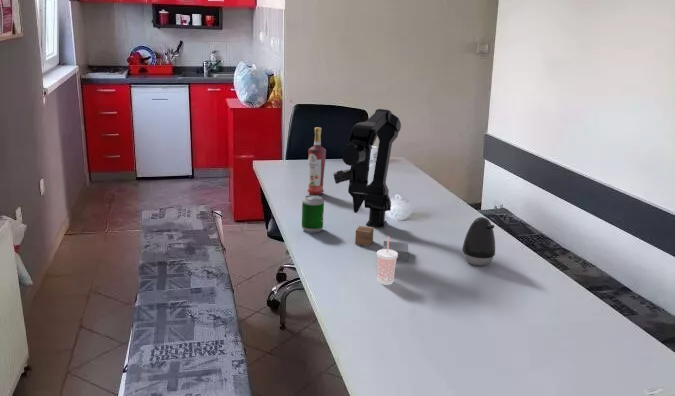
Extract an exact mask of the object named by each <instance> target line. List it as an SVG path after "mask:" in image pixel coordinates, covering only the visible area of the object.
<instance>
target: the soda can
mask: <svg viewBox="0 0 675 396" xmlns="http://www.w3.org/2000/svg"><path fill="white" fill-rule="evenodd" d="M301 204H302V205H301V229H303V231H304V232H306V233H310V234H315V233H320V232H321V230H323V228H324V211H325V210H324V209H325V207H324V206H325V200H324V199H323V198H322V196H320V195H311V194H309V195H306V196H304V197H303V198H302V203H301Z"/></svg>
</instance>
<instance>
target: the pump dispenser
mask: <svg viewBox="0 0 675 396" xmlns="http://www.w3.org/2000/svg"><path fill="white" fill-rule="evenodd" d="M494 229H495V225H494V224H492V222H490V220H489V219H488V218H486V217H483V216H479V217H477V218H475V220H473V222H472V223H471V225H470V226H469V228H468V230H467V232H466V235H465V237H464V240H463V244H462V249H461V250H462V253H463V257H464V259H465V260H466V262H468V264H471V265H474V266H480V267H481V266H485V265H488V264H489V263H491V262H492V260H493V259H494V257H495V256H496V237H495V233H494Z"/></svg>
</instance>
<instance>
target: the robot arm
mask: <svg viewBox="0 0 675 396" xmlns="http://www.w3.org/2000/svg"><path fill="white" fill-rule="evenodd" d="M401 128H402V123H401V121H400V119H399V117H398V116H396V115H395V114H394V113H392V111H391V110H390V109H385V108H384V109H383V108H377V109H376V110H375V112H374V113H373V114H372V115H371V116H370V117H369V118H368V119H366V121H361V122H360V121H359V122H358V123H355V125H353V127H351V130H350V133H349V136H348V140H347V142H346V146H347V145H348V147H347V148H345V149H344V150H343V152H342V154H341V158H342V161H343V163H344V164H345V165H347V166H350V168H349V169H340V170H337V171H335V172H334V173H333V174H332V176H333V180H334V182H335V184H336V185H337V184H340V183H343V182H347V181H349V183H348V191H347V192H348V194H350V197H352V204H353V213H355V214H358V213H359V211H360V209H361V207H362V205H363V203H364V208H365V209H369V214H368V221H367V222H366V224H365V225H366V226H367V227H370V226H371V227H377V228H384V227H385V226H386V224H387V222H388V221H387V220H385V219H386V212H389V211H391V207H392V201H391V198H390V195H389V194H390V193H389V188H388V186H387V177H388V176H387V175H388V170H389V164H390V158H391V151H392V148H393V147H392V145H393V143H394V141H395V140H397V138H398V137H399V132H400V131H401ZM377 138H378V147H377V153H376V159H375V165H374V172H373V177H372V181H371V182H370V184H368V183H369V173H370V163H371V162H370V161H371V155H372V149H373V146H374V144H375V142H376V140H377Z"/></svg>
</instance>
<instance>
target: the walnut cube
mask: <svg viewBox="0 0 675 396" xmlns="http://www.w3.org/2000/svg"><path fill="white" fill-rule="evenodd" d="M374 231H375V229H374V227H373V226H371V227H370V226H365V225H364V226H363V225H359V226H357V228H356V230H355V239H354V241H355V242H354V244H355V245H359V246H365V247H370V246H371V245H372V244H373V241H374Z"/></svg>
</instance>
